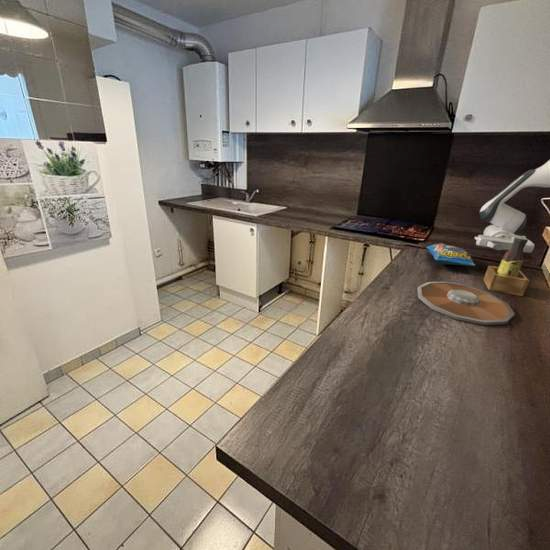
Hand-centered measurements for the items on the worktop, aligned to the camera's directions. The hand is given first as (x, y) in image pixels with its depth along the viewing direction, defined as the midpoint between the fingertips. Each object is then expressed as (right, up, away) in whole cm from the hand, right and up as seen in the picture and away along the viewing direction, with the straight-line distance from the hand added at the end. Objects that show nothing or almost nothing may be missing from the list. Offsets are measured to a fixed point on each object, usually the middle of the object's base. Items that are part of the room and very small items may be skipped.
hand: (508, 248), depth 120 cm
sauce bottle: (-5, -15, -3) cm, 16 cm away
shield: (-30, -21, -16) cm, 40 cm away
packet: (-13, -6, +21) cm, 25 cm away
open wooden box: (-5, -16, -3) cm, 17 cm away
